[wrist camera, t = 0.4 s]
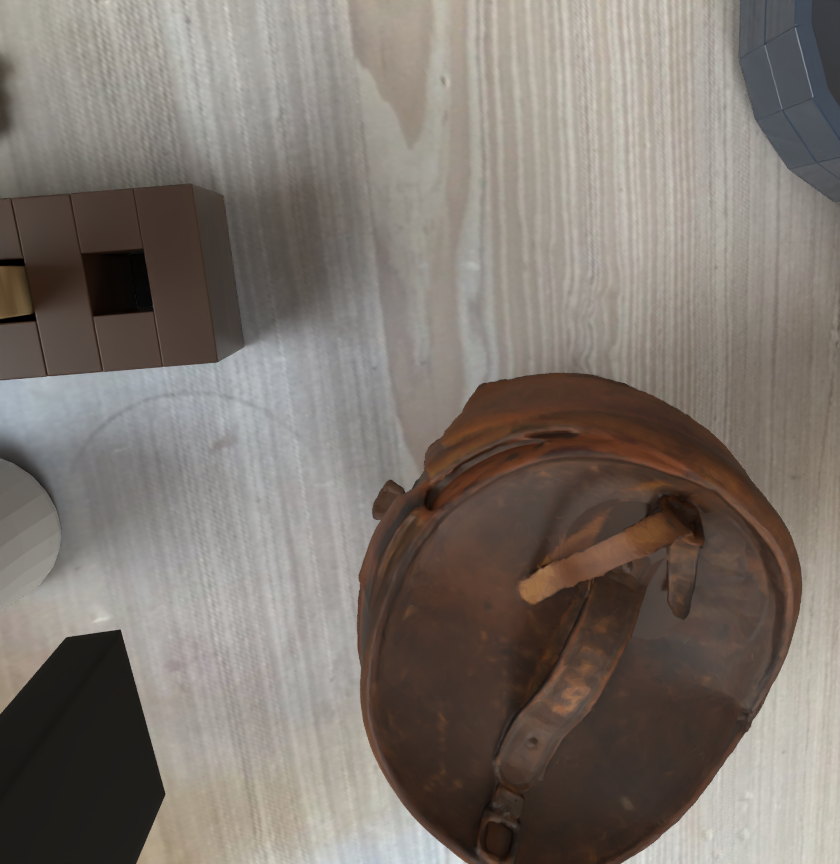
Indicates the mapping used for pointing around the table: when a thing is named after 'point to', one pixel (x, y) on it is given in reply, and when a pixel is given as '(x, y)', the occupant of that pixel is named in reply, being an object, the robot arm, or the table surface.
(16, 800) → the robot arm
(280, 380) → the table surface
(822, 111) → the bowl
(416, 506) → the case
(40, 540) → the mug
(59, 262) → the holder
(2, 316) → the stick
